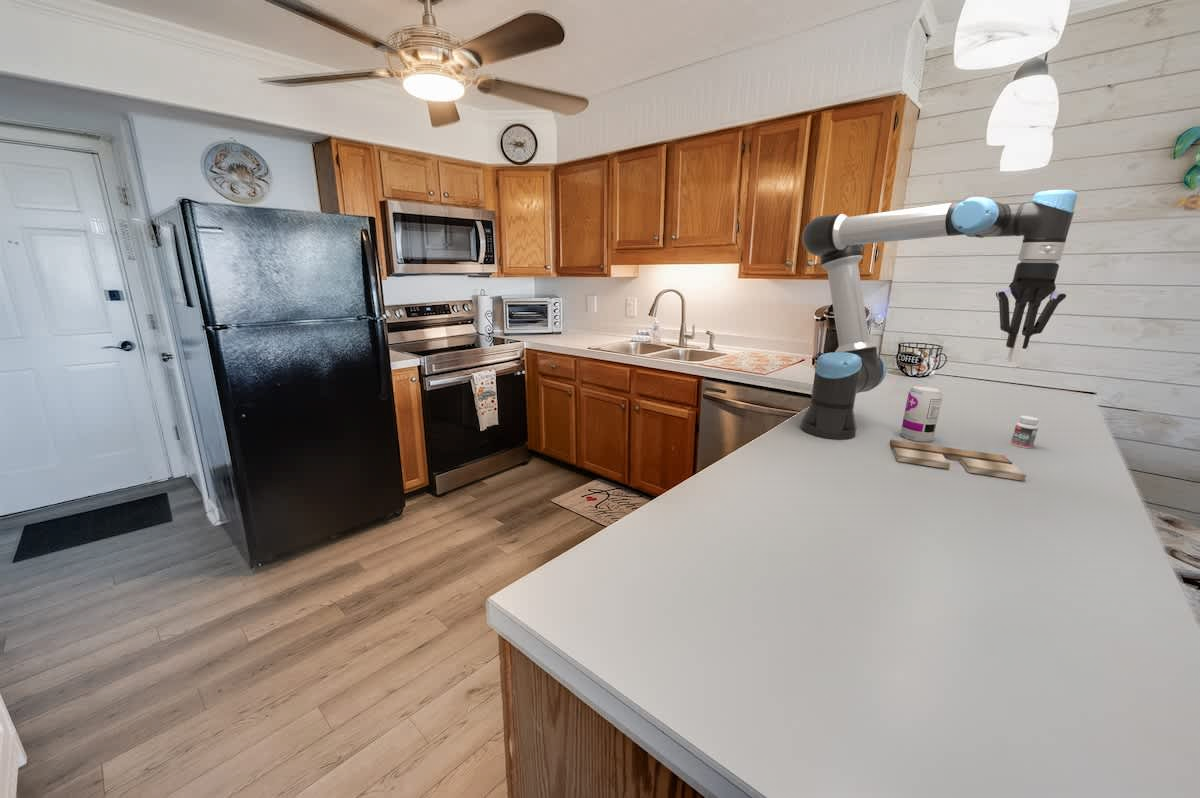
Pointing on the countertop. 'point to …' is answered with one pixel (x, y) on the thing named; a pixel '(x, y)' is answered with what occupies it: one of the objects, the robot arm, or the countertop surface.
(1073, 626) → the countertop surface
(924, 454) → the plank
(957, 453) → the laid board
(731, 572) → the countertop surface
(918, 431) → the supplement can
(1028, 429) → the pill bottle
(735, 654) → the countertop surface
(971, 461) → the plank
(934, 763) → the countertop surface
